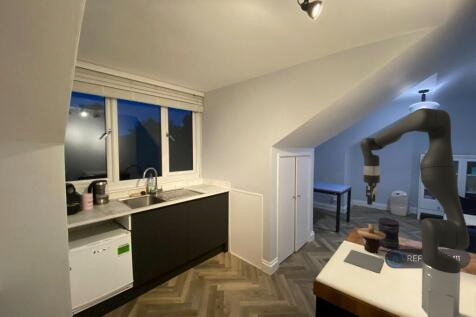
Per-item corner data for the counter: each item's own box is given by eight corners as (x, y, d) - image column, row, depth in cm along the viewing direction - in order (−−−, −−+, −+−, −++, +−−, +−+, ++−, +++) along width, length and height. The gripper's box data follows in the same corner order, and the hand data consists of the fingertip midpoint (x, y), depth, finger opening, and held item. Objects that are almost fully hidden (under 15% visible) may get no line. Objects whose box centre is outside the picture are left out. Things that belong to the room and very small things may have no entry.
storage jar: (400, 251, 111) (400, 225, 110) (378, 247, 116) (378, 222, 115) (397, 244, 119) (397, 219, 118) (377, 240, 124) (377, 217, 124)
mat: (378, 273, 92) (378, 272, 92) (343, 261, 103) (343, 260, 103) (383, 259, 103) (383, 259, 103) (351, 250, 113) (351, 249, 113)
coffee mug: (362, 245, 119) (362, 228, 118) (379, 248, 114) (379, 231, 114) (362, 254, 109) (362, 236, 108) (381, 258, 104) (381, 239, 104)
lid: (383, 241, 102) (383, 231, 102) (354, 234, 111) (355, 225, 111) (387, 233, 111) (387, 224, 111) (360, 227, 120) (360, 218, 120)
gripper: (377, 175, 102) (377, 207, 103) (382, 173, 112) (381, 201, 113) (360, 174, 107) (360, 204, 108) (366, 172, 117) (366, 199, 118)
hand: (371, 202), depth 110 cm, fingers open, 8 cm apart
